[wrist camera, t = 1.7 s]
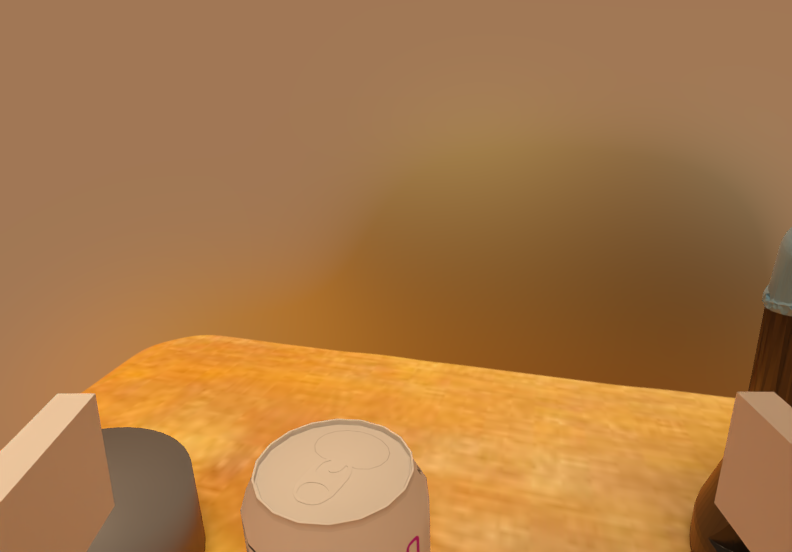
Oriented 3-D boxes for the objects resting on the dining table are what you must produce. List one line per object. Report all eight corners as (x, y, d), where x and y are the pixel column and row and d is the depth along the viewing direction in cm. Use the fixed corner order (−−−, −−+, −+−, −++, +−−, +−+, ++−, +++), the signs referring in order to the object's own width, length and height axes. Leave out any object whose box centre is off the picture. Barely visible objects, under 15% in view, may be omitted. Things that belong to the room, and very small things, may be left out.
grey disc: (112, 473, 50) (96, 409, 48) (248, 529, 44) (237, 459, 42) (-76, 607, 39) (-108, 532, 37) (71, 709, 33) (43, 626, 31)
